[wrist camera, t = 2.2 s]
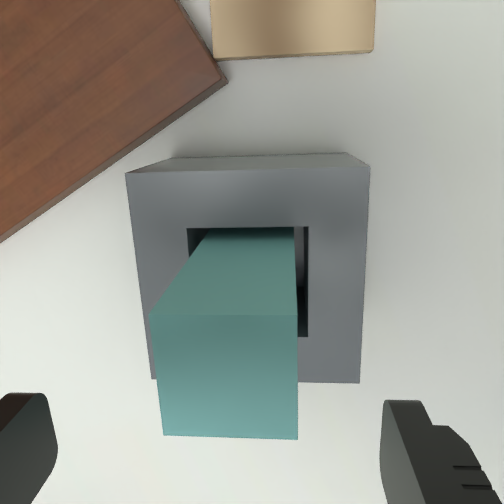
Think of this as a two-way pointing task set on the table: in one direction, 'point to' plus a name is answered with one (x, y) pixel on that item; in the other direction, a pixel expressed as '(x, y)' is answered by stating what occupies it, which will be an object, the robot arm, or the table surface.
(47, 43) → the flat brown board
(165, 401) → the plug
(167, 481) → the table surface
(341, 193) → the grey square socket block
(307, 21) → the mat
